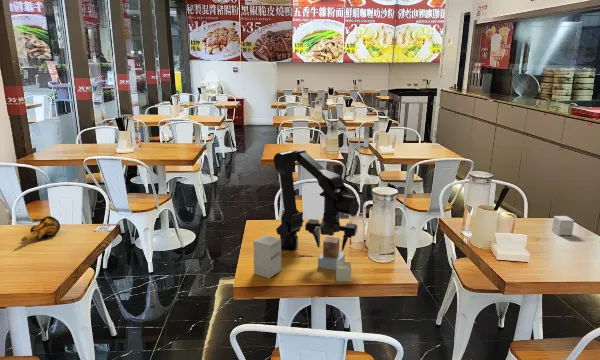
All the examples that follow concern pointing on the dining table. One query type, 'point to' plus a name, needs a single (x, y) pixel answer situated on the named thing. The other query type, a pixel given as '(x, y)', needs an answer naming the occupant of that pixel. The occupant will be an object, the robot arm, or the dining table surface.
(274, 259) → the supplement box
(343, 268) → the sage block
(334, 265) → the slate plinth
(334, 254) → the walnut block
